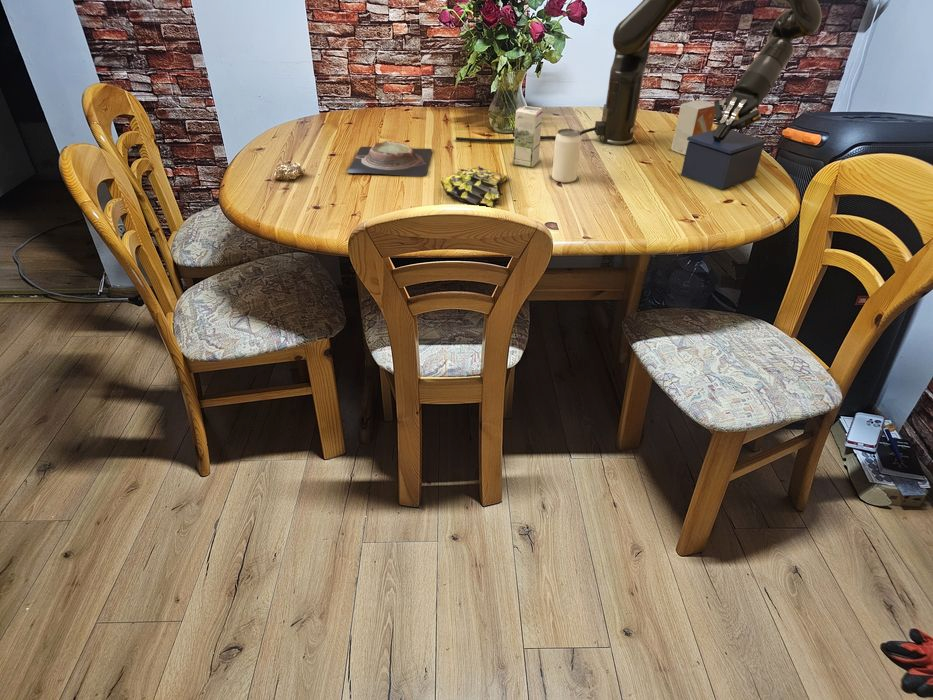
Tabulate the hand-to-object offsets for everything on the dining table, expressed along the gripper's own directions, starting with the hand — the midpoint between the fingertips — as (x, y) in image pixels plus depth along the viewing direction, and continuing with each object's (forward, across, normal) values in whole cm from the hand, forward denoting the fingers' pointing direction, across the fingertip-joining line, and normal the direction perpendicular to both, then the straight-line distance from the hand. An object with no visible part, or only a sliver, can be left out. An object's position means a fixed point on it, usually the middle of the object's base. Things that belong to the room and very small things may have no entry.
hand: (716, 139), depth 155 cm
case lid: (-2, 0, +4) cm, 5 cm away
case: (+4, 0, +11) cm, 12 cm away
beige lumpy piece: (+68, -66, -53) cm, 109 cm away
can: (+28, -23, -13) cm, 39 cm away
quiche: (+49, -60, -34) cm, 85 cm away
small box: (-3, -16, +18) cm, 25 cm away
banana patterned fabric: (+43, -31, -28) cm, 60 cm away
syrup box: (+28, -37, -13) cm, 49 cm away
